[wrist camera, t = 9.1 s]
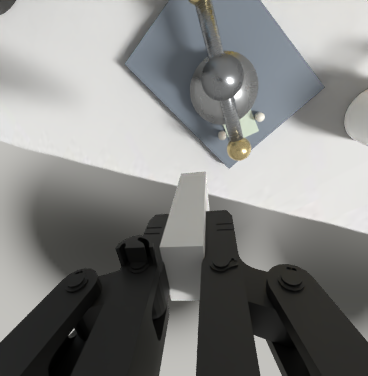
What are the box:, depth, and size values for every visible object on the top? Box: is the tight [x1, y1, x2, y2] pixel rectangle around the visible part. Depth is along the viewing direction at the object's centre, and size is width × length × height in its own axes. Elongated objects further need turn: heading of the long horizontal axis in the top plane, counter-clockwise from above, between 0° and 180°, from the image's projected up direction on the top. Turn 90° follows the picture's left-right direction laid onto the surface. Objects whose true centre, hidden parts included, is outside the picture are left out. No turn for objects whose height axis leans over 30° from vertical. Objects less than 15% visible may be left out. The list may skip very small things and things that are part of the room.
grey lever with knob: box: [188, 0, 258, 161], centre depth 28 cm, size 21×9×6 cm, turn 19°
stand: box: [125, 0, 325, 168], centre depth 31 cm, size 22×17×3 cm
